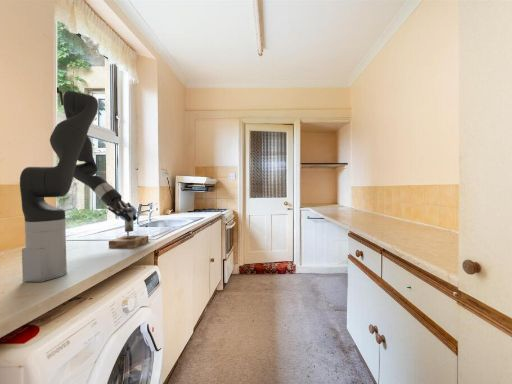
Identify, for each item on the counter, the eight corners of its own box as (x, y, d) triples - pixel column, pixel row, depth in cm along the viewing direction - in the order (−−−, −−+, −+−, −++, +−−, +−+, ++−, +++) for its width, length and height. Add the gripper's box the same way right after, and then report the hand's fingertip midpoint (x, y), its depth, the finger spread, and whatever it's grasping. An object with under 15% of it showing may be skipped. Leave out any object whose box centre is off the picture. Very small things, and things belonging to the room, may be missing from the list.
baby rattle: (119, 237, 128) (118, 204, 128) (137, 236, 132) (136, 203, 131) (117, 241, 120) (117, 205, 120) (136, 239, 124) (136, 204, 123)
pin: (131, 232, 110) (130, 208, 109) (121, 232, 110) (120, 208, 110) (137, 230, 114) (136, 207, 114) (127, 230, 115) (127, 207, 114)
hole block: (134, 247, 106) (134, 241, 106) (108, 247, 107) (108, 241, 107) (148, 241, 118) (148, 235, 118) (125, 241, 119) (125, 235, 119)
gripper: (102, 189, 105) (129, 216, 105) (122, 188, 119) (146, 212, 119) (91, 201, 106) (118, 228, 105) (112, 199, 120) (136, 223, 119)
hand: (133, 220), depth 112 cm, fingers closed on pin, 3 cm apart
